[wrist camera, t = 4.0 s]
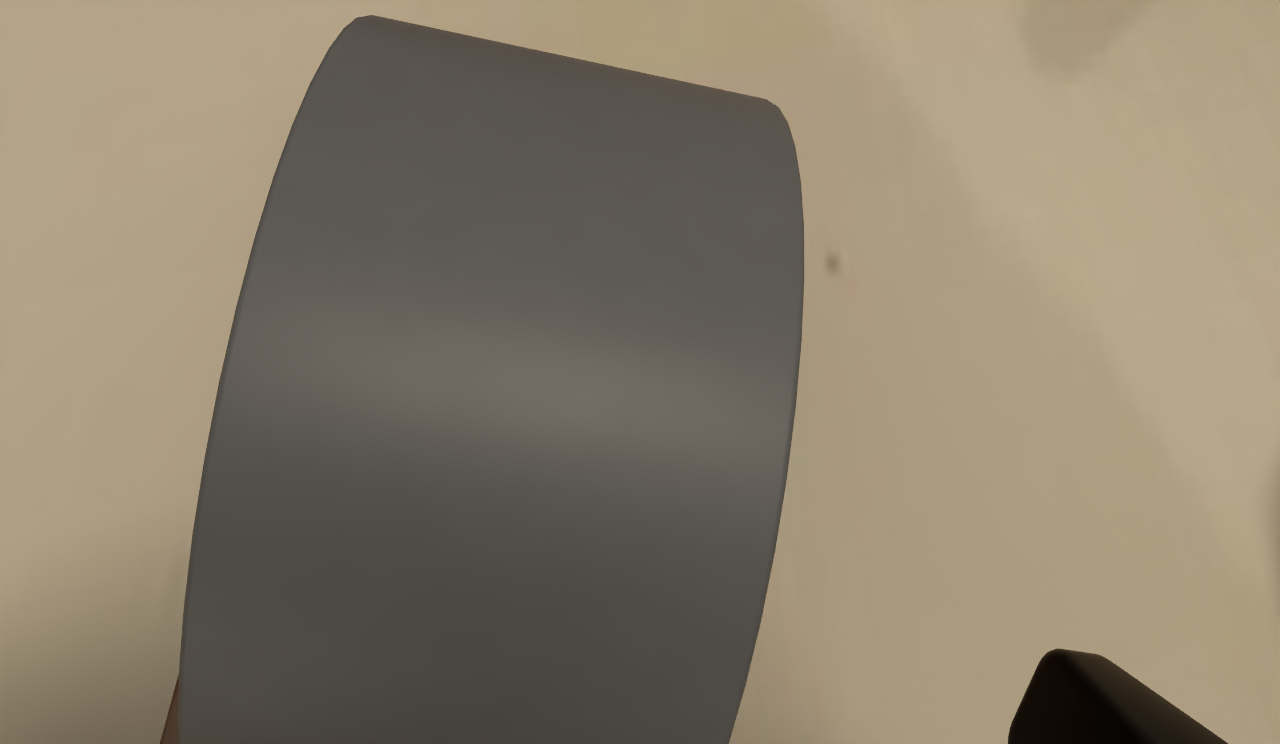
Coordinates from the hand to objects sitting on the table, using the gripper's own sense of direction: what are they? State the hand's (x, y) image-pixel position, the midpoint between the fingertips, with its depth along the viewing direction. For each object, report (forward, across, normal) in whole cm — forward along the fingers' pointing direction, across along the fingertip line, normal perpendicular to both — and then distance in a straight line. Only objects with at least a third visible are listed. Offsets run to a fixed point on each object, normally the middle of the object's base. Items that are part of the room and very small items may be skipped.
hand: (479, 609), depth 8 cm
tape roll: (+8, 0, +4) cm, 9 cm away
